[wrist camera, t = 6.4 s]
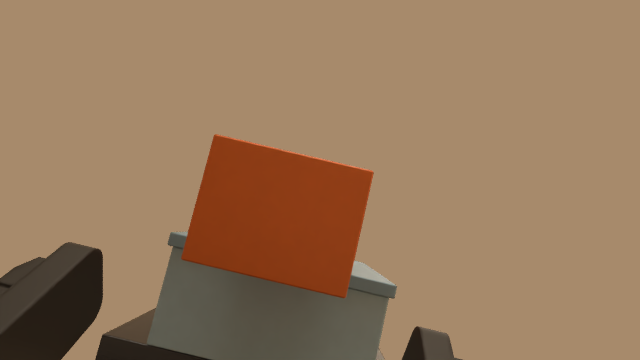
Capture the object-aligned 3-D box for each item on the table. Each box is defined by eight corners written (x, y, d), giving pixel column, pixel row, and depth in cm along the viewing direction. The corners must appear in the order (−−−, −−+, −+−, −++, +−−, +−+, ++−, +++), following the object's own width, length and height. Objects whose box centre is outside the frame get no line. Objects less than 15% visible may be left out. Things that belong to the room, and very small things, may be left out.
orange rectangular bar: (179, 259, 11) (214, 133, 12) (263, 240, 30) (275, 192, 31) (345, 299, 11) (374, 170, 12) (325, 254, 30) (336, 206, 30)
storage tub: (139, 344, 18) (170, 231, 19) (209, 298, 31) (226, 230, 31) (373, 401, 18) (397, 285, 19) (349, 331, 31) (364, 263, 31)
